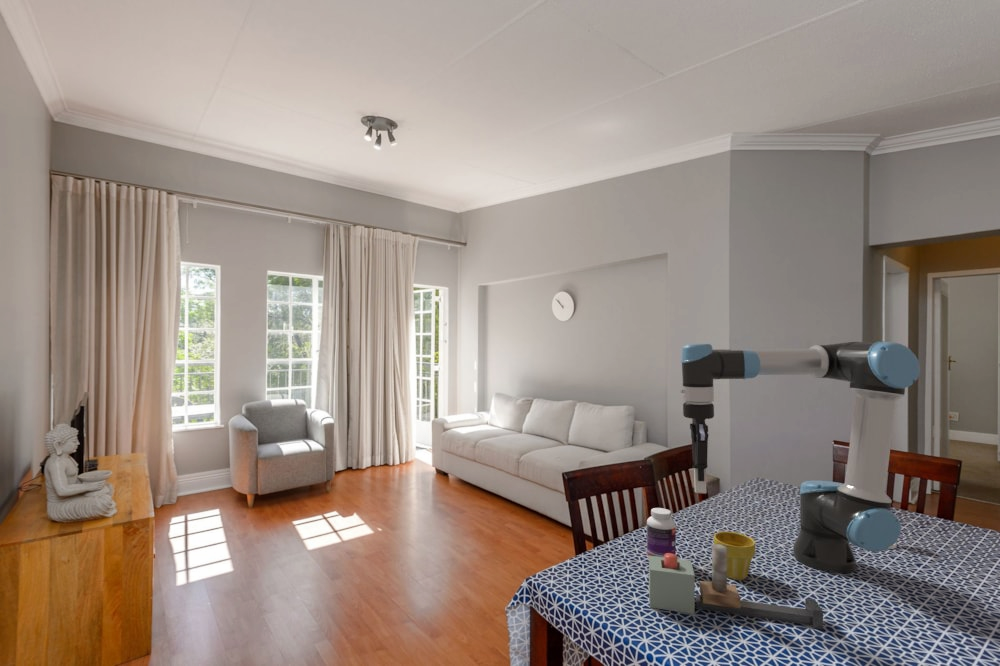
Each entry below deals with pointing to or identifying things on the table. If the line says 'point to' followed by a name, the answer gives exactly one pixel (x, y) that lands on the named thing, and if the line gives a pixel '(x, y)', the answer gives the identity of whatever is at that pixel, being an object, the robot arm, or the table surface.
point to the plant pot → (736, 553)
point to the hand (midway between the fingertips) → (700, 492)
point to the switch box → (671, 585)
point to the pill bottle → (660, 533)
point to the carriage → (719, 582)
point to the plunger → (670, 561)
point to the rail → (772, 611)
